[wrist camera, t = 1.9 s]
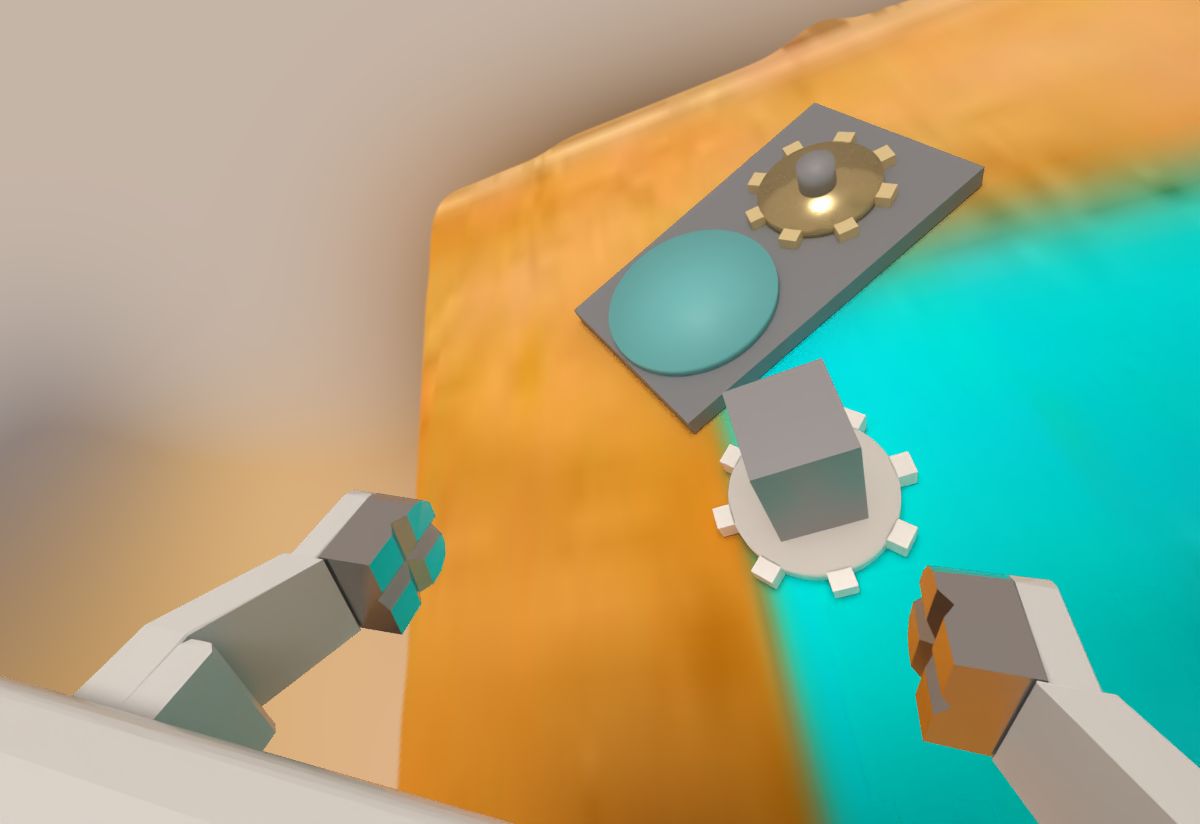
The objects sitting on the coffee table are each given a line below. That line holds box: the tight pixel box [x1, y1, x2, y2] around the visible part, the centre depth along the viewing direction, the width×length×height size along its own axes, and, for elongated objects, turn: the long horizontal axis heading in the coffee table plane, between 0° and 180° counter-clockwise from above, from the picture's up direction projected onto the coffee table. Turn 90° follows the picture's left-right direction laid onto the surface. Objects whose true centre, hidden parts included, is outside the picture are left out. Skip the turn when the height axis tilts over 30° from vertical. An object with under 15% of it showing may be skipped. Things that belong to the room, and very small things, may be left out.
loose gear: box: [713, 358, 918, 598], centre depth 28 cm, size 10×10×10 cm
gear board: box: [574, 103, 984, 434], centre depth 40 cm, size 24×14×4 cm, turn 125°
